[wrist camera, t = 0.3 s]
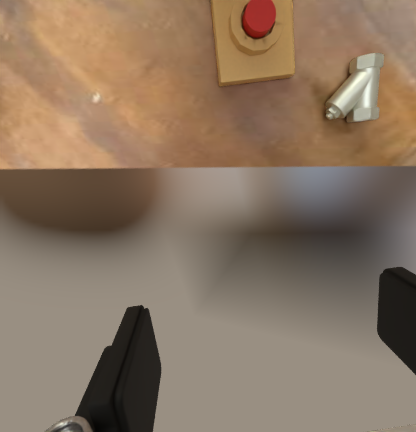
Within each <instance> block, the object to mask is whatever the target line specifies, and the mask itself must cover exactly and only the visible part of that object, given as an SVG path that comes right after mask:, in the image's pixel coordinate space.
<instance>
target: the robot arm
mask: <svg viewBox="0 0 416 432" xmlns="http://www.w3.org/2000/svg"><path fill="white" fill-rule="evenodd" d="M377 323H378V324H377V332H378V335H379V337H380V338H381V340H382V341H383V342H384V343H385V344H386V345H387V346H388V347H389V348H390V349H391V350H392V351H393V352H394V353H395V354H396V355H397V356H398V357H399V358H400V359H401V360H402V361H403V362H404V363H405V364H406V365H407V366H408V367H409V368H410V369H411V370H412V372H413V373H415V375H416V275H415V274H413V273H412V272H410V271H408V270H406V269H405V268H403V267H396V268H388V269H385V270H384V271H383V273H382V274H381V275H380V279H379V301H378V322H377ZM160 378H161V362H160V357H159V353H158V348H157V345H156V340H155V335H154V331H153V326H152V322H151V317H150V313H149V309H148V308H145V309H144V307H143V306H142V305H140V306H133V307H128V308H127V309H126V312H125V314H124V317H123V319H122V322H121V324H120V326H119V329H118V331H117V334H116V336H115V339H114V341H113V343H112V346H107V347H106V348H105V349H104V351H103V353H102V355H101V358H100V360H99V362H98V364H97V367H96V369H95V371H94V373H93V376H92V378H91V380H90V382H89V385H88V387H87V389H86V391H85V394H84V396H83V398H82V401H81V403H80V405H79V407H78V410H77V412H76V414H75V416H72V417H68V418H65V419H62V420H60V421H58V422H57V423H55V424H53V425H52V426H51V427H50V428H48V429H47V430H46V431H45V432H153V426H154V419H155V412H156V405H157V398H158V391H159V384H160ZM369 432H416V424H414V425H407V426H401V427H395V428H388V429H382V430H375V431H369Z"/></svg>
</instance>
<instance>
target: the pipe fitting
mask: <svg viewBox="0 0 416 432" xmlns="http://www.w3.org/2000/svg"><path fill="white" fill-rule="evenodd" d="M383 61H384V55H383V54H381V53H372V54H366V55H362V56H359V57H356V58H354V59H353V60H352V61H351V62H350V68H349V73H351V75H350V77H349V78H348V79H347V80H346V81H345V82H344V83H343V84H342V85H341V87H340V88H339V89H338V90H337V91H336V92H335V93H334V94H333V95H332V97H331V98H330V99H329V100H328V101H327V102H326V104H325V106H326V108H327V110H326V113H327V114H326V118H327V119H329V120H331V119H332V118H333V119H336V118H337V117H338V118H344V117H345V116H346V115H347V122H361V121H370V120H376V119H378V118H379V107H377V99H378V87H379V76H380V68H382V67H383Z"/></svg>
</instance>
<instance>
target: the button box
mask: <svg viewBox="0 0 416 432" xmlns="http://www.w3.org/2000/svg"><path fill="white" fill-rule="evenodd" d="M272 1H273V3H274V5H275V8H276V19H275V22H274V24H273V25H272V27H271V28H270V30H269V31H268V33H267V34H266V35H264V36H262V37H259V38H255V37H252V36H250V35H249V34H247V32H246V31H245V29H244V27H243V15H244V12H245V10H246V7H247V5H248V3H249V2H250V0H210V3H211V13H212V22H213V32H214V42H215V51H216V61H217V71H218V80H219V86H228V85H236V84H244V83H252V82H260V81H268V80H276V79H284V78H289V77H291V76H292V75H294V74H295V60H294V29H293V0H272Z"/></svg>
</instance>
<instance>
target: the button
mask: <svg viewBox="0 0 416 432" xmlns="http://www.w3.org/2000/svg"><path fill="white" fill-rule="evenodd" d="M275 19H276V8H275V5H274V3H273V1H272V0H250V2H249V3H248V5H247V7H246V10H245V12H244V15H243V27H244V29H245V31H246V32H247V34H249V35H250V36H252V37H255V38H259V37H262V36H264V35H266V34H267V33H268V31H269V30H270V28H271V27H272V25H273V24H274V22H275Z"/></svg>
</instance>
